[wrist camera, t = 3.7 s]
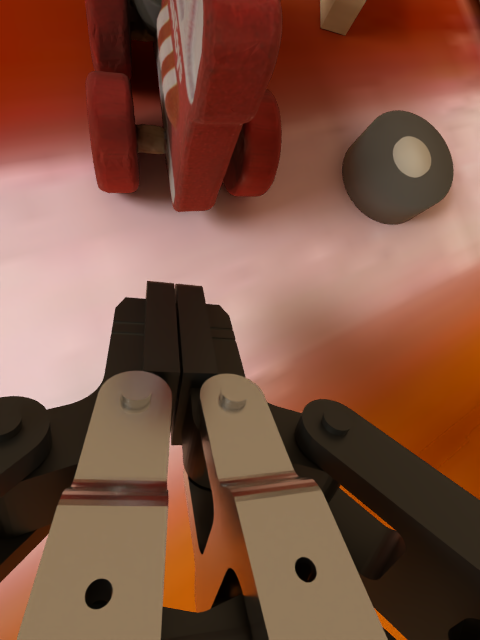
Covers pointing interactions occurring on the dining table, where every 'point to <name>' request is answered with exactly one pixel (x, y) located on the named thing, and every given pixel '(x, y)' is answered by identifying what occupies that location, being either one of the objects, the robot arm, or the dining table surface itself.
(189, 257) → the dining table surface
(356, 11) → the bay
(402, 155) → the spare wheel
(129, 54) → the toy fire truck
